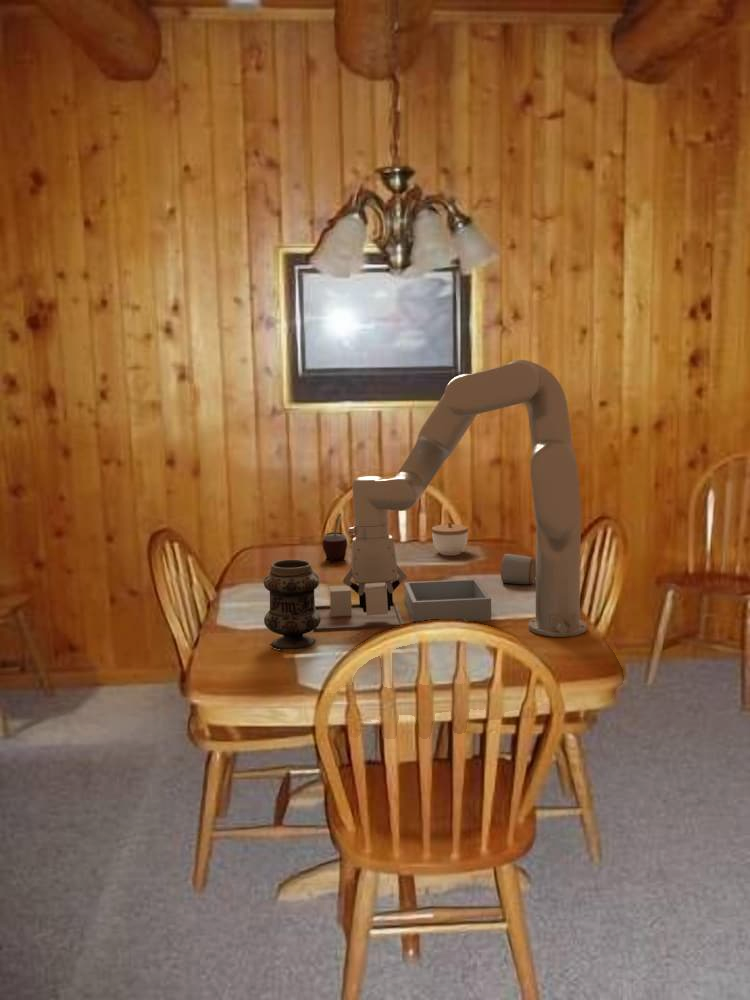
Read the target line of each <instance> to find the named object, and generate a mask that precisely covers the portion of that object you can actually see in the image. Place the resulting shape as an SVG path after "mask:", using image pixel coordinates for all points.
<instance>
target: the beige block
mask: <svg viewBox="0 0 750 1000" xmlns="http://www.w3.org/2000/svg"><path fill="white" fill-rule="evenodd" d="M364 592H365V596H366V614H367V616H368V615H380V614H388V602H387V586H386V583H385V582H378V583H365V588H364Z"/></svg>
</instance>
